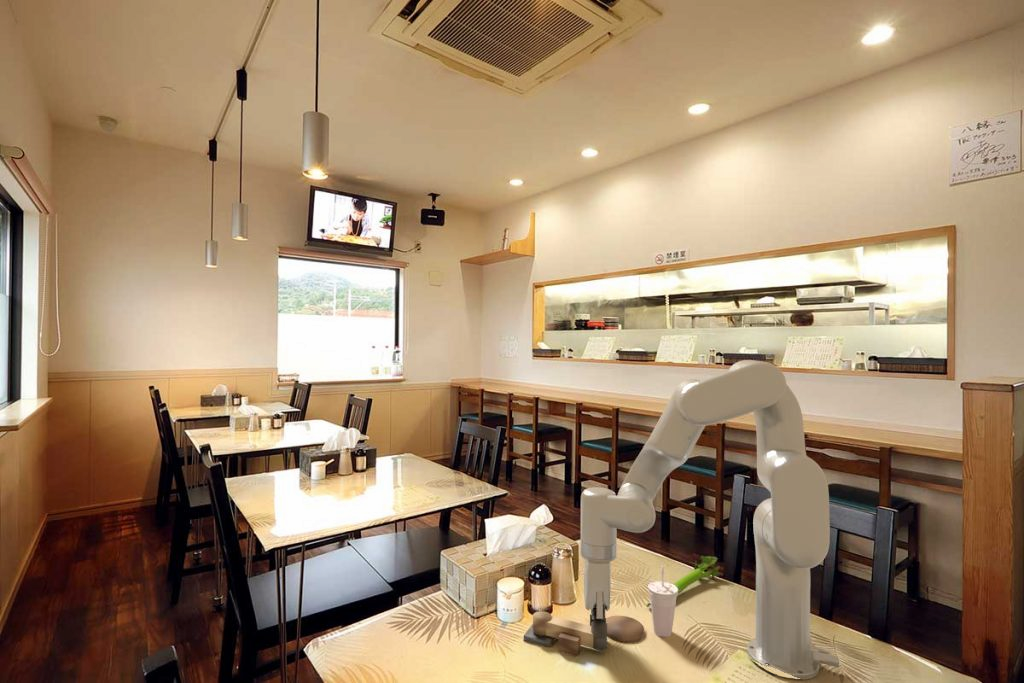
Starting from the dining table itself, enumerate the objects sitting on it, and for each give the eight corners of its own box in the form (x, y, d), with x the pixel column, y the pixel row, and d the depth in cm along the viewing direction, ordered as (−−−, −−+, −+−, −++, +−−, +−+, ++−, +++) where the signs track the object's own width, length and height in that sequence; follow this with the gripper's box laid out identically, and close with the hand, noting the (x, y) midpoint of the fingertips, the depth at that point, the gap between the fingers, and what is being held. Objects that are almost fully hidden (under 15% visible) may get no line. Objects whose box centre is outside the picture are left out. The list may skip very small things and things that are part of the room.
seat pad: (647, 624, 114) (647, 621, 114) (639, 646, 106) (639, 642, 106) (607, 615, 118) (607, 612, 118) (597, 635, 110) (597, 631, 110)
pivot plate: (560, 632, 111) (560, 628, 111) (550, 647, 105) (550, 642, 105) (534, 626, 113) (534, 621, 113) (523, 640, 108) (523, 635, 108)
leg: (529, 632, 108) (529, 611, 108) (537, 623, 112) (537, 603, 112) (603, 653, 101) (604, 631, 101) (609, 643, 105) (609, 621, 105)
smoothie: (674, 625, 114) (674, 562, 114) (681, 641, 108) (681, 574, 108) (645, 623, 115) (645, 560, 115) (650, 639, 108) (650, 573, 108)
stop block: (580, 651, 104) (580, 636, 104) (577, 656, 102) (577, 641, 102) (561, 646, 106) (561, 631, 106) (558, 651, 104) (558, 636, 104)
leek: (640, 614, 123) (700, 568, 143) (666, 630, 118) (724, 579, 138) (642, 591, 122) (702, 547, 142) (669, 606, 117) (727, 558, 137)
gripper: (579, 534, 116) (578, 616, 116) (581, 562, 101) (581, 655, 101) (612, 536, 115) (612, 618, 115) (620, 564, 100) (619, 658, 100)
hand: (597, 635), depth 108 cm, fingers closed
